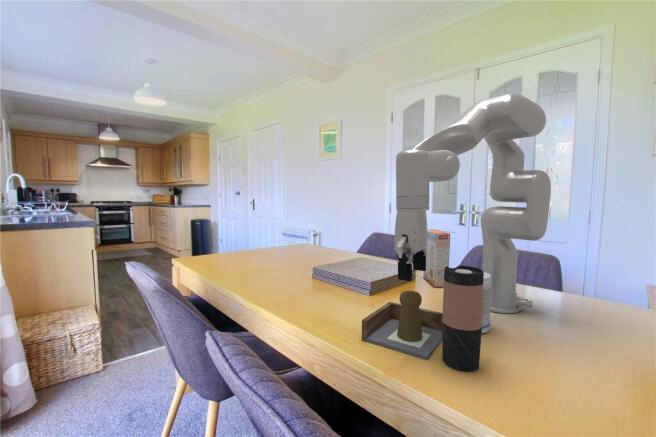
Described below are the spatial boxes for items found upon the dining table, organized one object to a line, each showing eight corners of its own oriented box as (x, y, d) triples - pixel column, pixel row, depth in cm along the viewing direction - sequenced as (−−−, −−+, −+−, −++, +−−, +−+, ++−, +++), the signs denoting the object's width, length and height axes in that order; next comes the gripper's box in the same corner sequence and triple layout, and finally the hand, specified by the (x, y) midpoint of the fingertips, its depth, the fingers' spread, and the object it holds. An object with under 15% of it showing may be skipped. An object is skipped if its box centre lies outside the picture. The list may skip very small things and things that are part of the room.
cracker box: (449, 288, 119) (451, 233, 118) (433, 287, 119) (435, 233, 118) (437, 278, 133) (438, 229, 132) (422, 278, 133) (424, 229, 132)
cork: (421, 332, 79) (422, 289, 78) (423, 343, 73) (424, 296, 72) (397, 329, 80) (397, 287, 79) (397, 340, 74) (397, 294, 73)
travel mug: (477, 377, 61) (482, 275, 60) (437, 365, 65) (440, 270, 64) (482, 359, 68) (486, 267, 66) (445, 350, 72) (448, 263, 70)
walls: (447, 333, 80) (447, 314, 80) (427, 360, 67) (428, 337, 67) (388, 318, 90) (389, 301, 89) (361, 340, 76) (361, 320, 76)
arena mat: (447, 333, 80) (447, 329, 80) (427, 360, 67) (427, 355, 67) (388, 318, 90) (389, 315, 89) (361, 340, 76) (361, 336, 76)
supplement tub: (479, 320, 89) (481, 269, 87) (497, 335, 79) (500, 278, 78) (444, 320, 88) (446, 269, 87) (458, 335, 79) (461, 278, 78)
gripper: (410, 201, 83) (410, 265, 85) (381, 205, 69) (382, 282, 71) (439, 201, 79) (438, 268, 80) (415, 206, 65) (415, 287, 66)
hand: (412, 275), depth 75 cm, fingers open, 9 cm apart
